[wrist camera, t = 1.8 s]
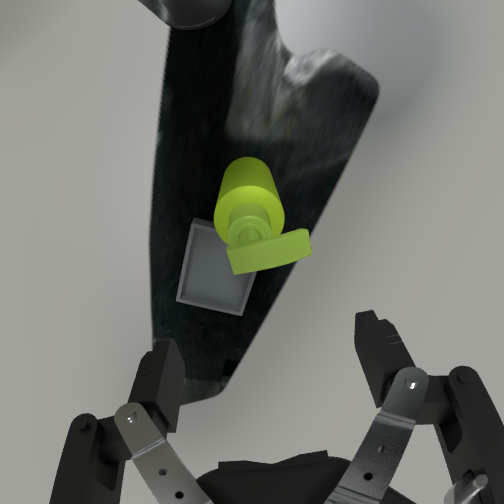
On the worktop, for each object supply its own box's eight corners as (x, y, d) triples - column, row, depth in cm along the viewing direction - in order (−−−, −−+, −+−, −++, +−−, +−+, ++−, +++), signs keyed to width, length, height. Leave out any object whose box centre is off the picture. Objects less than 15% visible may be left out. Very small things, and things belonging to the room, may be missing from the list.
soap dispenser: (284, 195, 39) (318, 283, 22) (230, 208, 40) (220, 305, 22) (274, 149, 37) (303, 202, 19) (217, 163, 37) (192, 229, 20)
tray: (193, 217, 40) (191, 223, 39) (265, 235, 42) (267, 241, 40) (178, 292, 46) (175, 301, 44) (241, 307, 47) (241, 316, 45)
